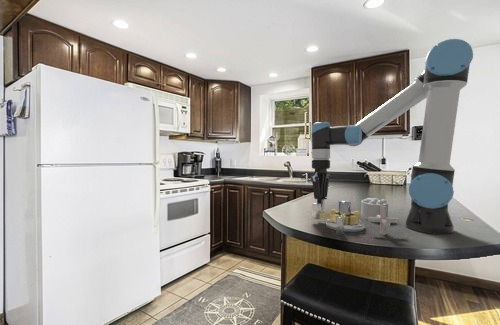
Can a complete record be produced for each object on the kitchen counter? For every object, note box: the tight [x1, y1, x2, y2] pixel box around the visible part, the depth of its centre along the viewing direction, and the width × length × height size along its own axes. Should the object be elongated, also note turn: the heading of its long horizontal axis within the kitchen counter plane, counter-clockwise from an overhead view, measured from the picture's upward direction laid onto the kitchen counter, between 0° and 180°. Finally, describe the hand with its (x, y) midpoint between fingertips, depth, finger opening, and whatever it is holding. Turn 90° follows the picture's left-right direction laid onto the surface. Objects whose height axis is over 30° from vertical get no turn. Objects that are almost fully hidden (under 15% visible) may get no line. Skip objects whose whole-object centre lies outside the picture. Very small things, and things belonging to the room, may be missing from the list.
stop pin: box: [335, 217, 344, 236], centre depth 91 cm, size 2×2×6 cm
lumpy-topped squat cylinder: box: [360, 197, 389, 220], centre depth 116 cm, size 10×13×9 cm
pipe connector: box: [366, 206, 400, 236], centre depth 91 cm, size 10×10×10 cm
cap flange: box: [325, 200, 365, 233], centre depth 101 cm, size 14×14×10 cm
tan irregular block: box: [311, 202, 361, 225], centre depth 102 cm, size 18×11×6 cm, turn 64°
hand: (320, 214), depth 109 cm, fingers closed
